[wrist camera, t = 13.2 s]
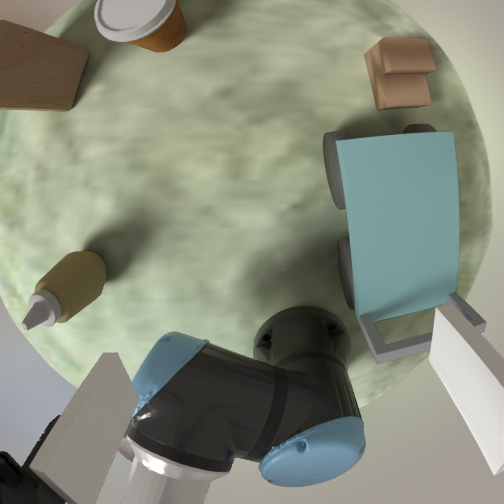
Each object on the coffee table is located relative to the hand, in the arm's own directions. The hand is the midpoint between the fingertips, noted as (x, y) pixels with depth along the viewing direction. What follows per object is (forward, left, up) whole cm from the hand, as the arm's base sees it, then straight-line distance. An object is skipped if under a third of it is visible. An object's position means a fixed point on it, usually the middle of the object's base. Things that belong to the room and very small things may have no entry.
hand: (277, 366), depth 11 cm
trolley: (-3, -14, -31) cm, 34 cm away
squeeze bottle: (-4, +29, -31) cm, 43 cm away
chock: (+15, -19, -31) cm, 39 cm away
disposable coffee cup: (+27, +9, -31) cm, 42 cm away
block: (+27, +27, -31) cm, 50 cm away
